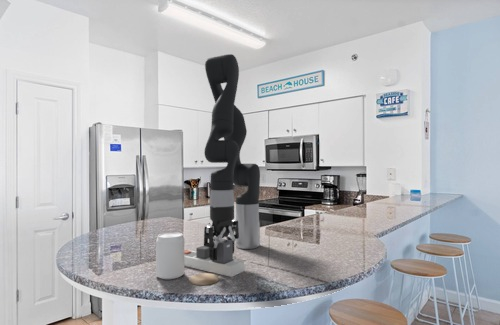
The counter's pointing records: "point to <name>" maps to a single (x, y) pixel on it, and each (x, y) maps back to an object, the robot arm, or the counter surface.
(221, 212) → the robot arm
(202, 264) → the power strip
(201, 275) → the coaster
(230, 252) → the block
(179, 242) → the beverage can
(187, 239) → the counter surface
